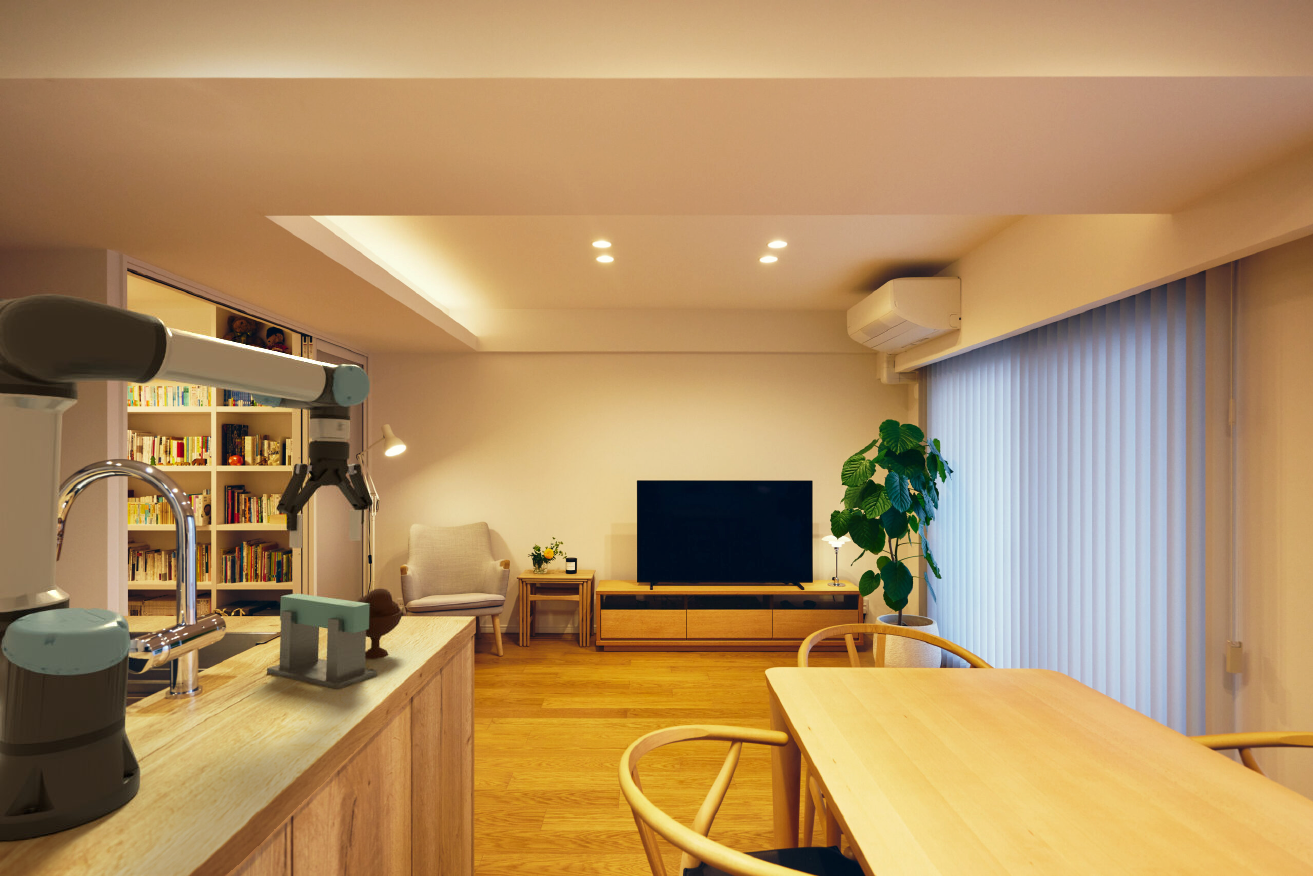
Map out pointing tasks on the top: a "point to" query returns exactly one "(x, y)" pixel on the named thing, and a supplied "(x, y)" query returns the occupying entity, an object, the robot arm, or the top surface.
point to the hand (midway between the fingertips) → (326, 544)
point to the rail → (326, 611)
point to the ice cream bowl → (380, 619)
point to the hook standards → (303, 654)
